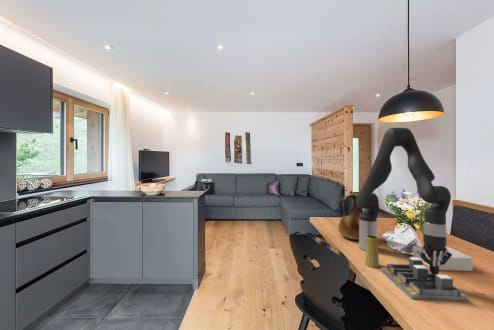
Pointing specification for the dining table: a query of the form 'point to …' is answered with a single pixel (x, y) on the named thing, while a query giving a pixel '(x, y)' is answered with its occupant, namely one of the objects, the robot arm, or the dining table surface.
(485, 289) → the dining table surface
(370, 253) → the vase
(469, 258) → the frame
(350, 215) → the ceramic pitcher
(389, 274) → the panel
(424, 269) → the block
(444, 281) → the breaker near
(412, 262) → the breaker far
